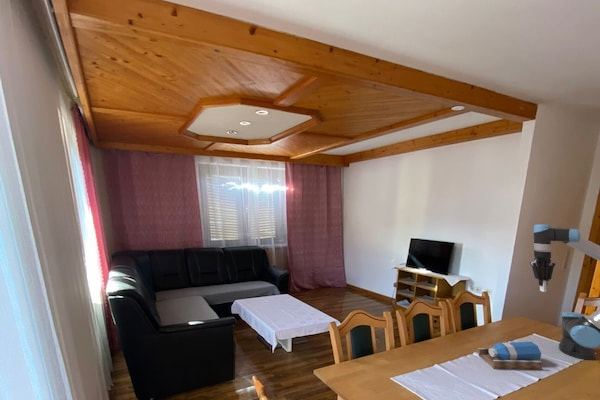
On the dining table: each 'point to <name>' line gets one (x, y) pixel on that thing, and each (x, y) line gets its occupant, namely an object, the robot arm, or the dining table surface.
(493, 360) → the cradle
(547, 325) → the dining table surface
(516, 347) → the water bottle
